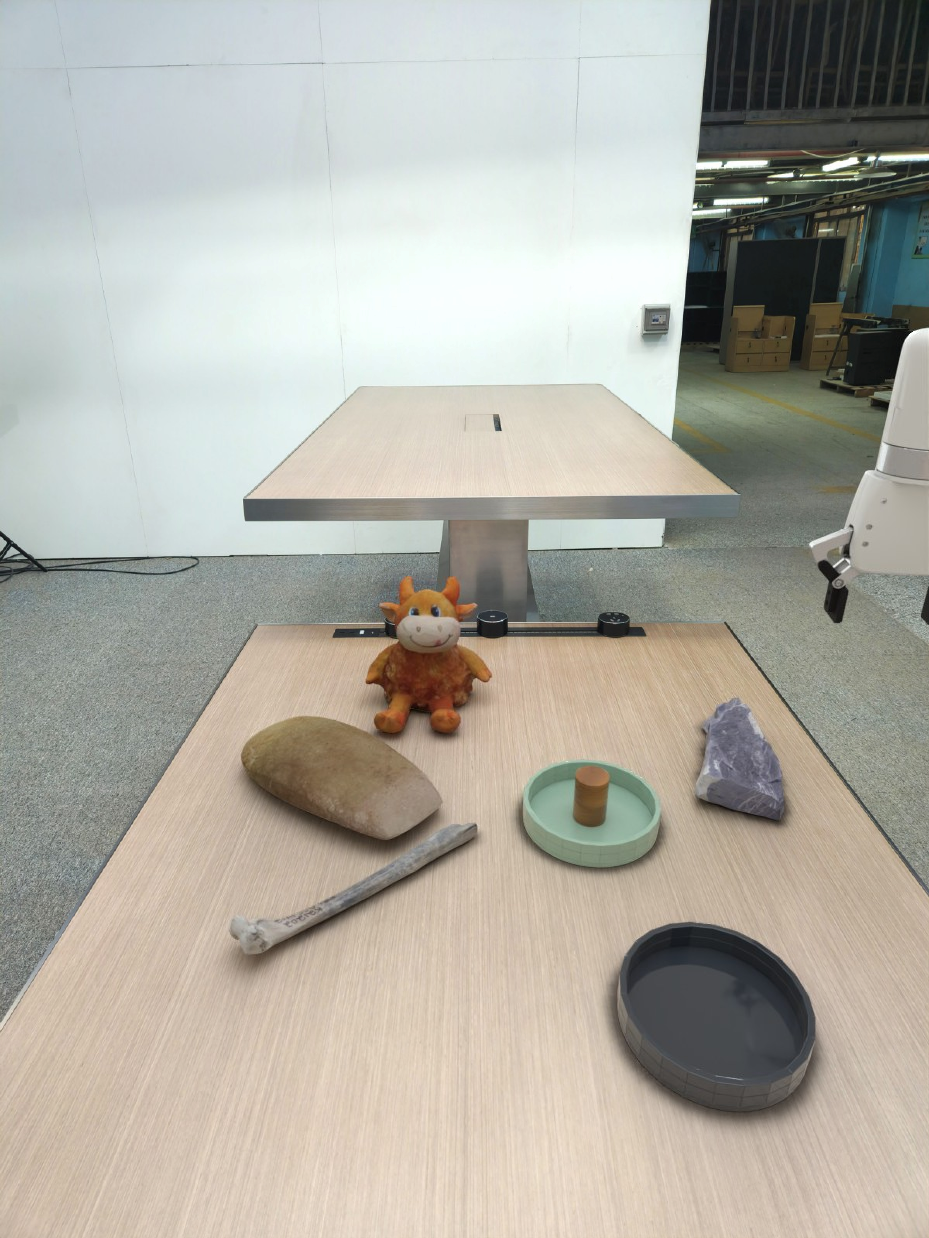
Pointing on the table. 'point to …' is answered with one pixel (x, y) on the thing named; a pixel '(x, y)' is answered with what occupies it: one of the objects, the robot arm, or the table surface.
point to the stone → (340, 775)
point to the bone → (347, 893)
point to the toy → (426, 658)
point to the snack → (590, 796)
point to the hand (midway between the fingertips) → (881, 620)
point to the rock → (740, 764)
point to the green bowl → (601, 846)
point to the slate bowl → (715, 1016)
